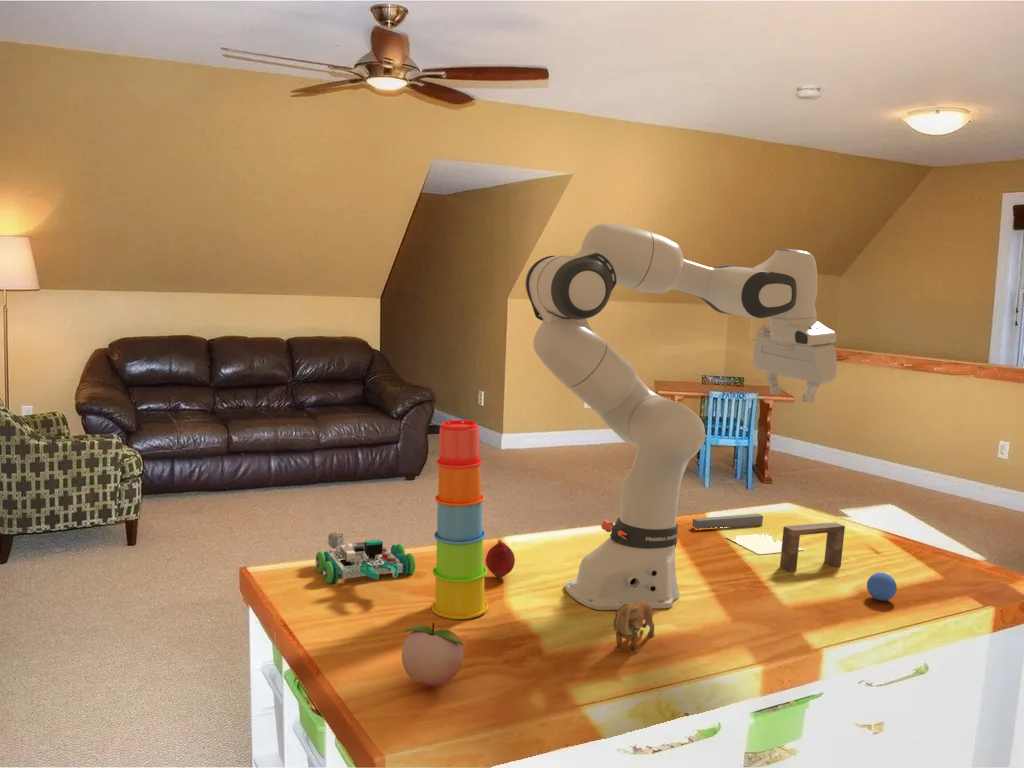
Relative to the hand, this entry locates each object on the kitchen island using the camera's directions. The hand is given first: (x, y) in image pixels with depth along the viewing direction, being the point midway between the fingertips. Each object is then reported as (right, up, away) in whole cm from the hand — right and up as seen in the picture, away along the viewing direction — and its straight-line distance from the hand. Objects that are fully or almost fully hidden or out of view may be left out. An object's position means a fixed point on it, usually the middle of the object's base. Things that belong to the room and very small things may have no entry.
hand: (791, 398), depth 176 cm
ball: (+17, -38, -2) cm, 42 cm away
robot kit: (-84, -36, -5) cm, 92 cm away
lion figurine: (-36, -42, -30) cm, 63 cm away
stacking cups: (-66, -38, -18) cm, 79 cm away
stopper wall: (-2, -33, +44) cm, 55 cm away
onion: (-59, -37, -1) cm, 70 cm away
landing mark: (+3, -35, +31) cm, 47 cm away
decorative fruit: (-69, -42, -48) cm, 94 cm away
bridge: (+9, -38, +16) cm, 42 cm away
